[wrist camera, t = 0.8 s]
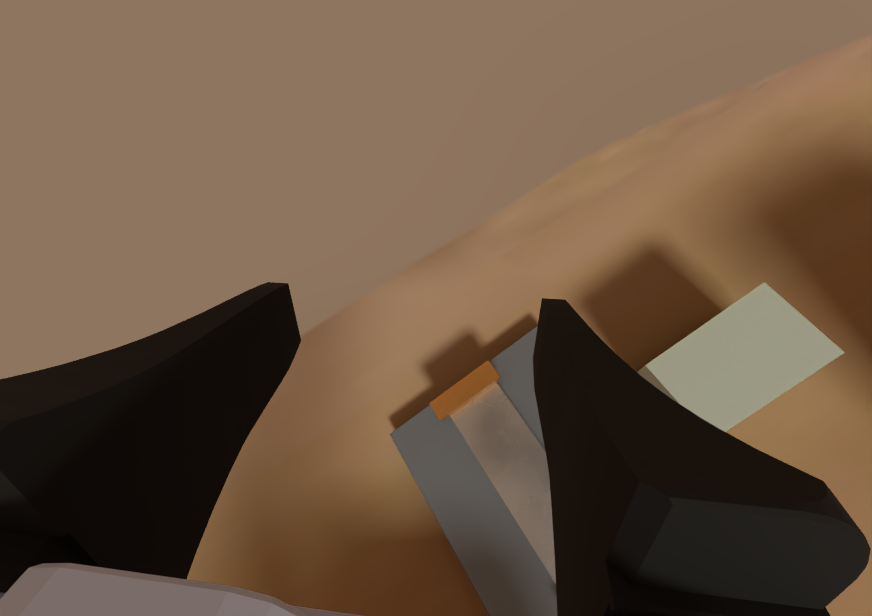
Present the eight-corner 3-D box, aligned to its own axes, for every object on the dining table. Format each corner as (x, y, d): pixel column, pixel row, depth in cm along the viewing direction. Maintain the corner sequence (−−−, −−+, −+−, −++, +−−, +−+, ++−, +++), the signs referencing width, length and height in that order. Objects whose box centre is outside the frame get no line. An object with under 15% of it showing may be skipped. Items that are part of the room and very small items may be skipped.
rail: (662, 599, 20) (669, 615, 19) (588, 645, 21) (589, 664, 19) (493, 364, 26) (487, 360, 24) (438, 404, 26) (429, 403, 25)
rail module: (783, 368, 22) (844, 352, 17) (682, 436, 23) (712, 440, 18) (724, 312, 24) (764, 282, 19) (631, 377, 25) (645, 365, 19)
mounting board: (725, 557, 21) (733, 564, 20) (533, 677, 22) (530, 690, 21) (541, 328, 27) (539, 324, 26) (397, 433, 28) (389, 434, 27)
